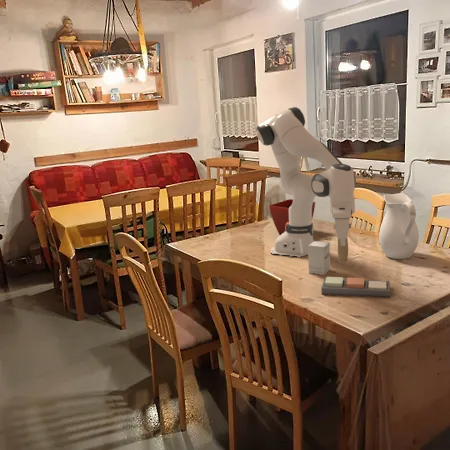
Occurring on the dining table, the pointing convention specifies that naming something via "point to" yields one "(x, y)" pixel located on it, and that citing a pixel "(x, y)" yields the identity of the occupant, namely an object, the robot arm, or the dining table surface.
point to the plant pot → (282, 214)
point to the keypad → (357, 290)
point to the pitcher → (399, 227)
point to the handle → (343, 250)
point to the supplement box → (319, 257)
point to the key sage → (334, 282)
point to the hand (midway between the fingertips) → (343, 243)
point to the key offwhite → (377, 285)
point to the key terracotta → (355, 283)
